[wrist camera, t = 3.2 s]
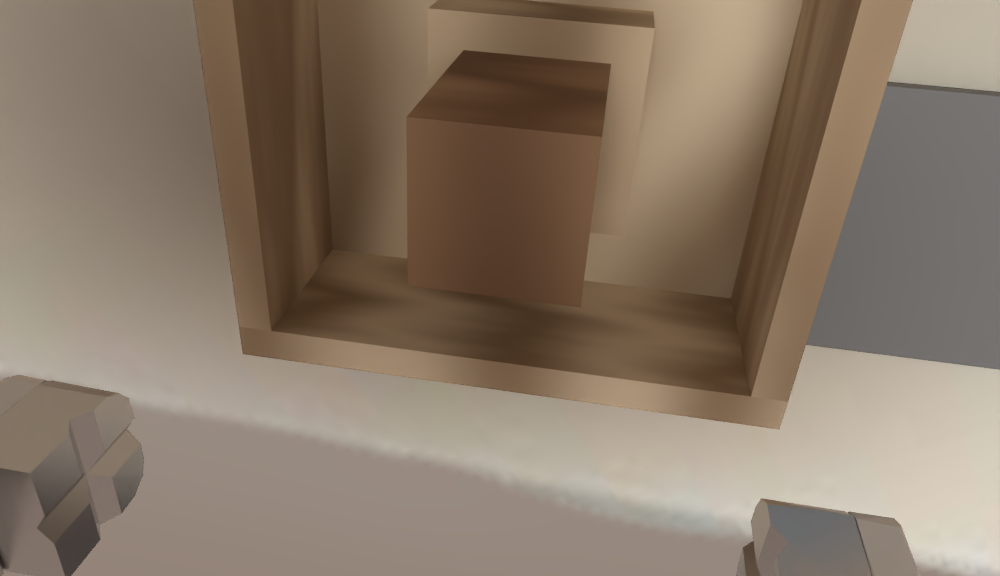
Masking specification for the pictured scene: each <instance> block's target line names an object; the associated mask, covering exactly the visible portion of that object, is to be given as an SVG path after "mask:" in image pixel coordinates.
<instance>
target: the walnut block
mask: <svg viewBox="0 0 1000 576" xmlns="http://www.w3.org/2000/svg"><path fill="white" fill-rule="evenodd" d="M610 69H611V64H608V63H597V62H586V61H576V60H565V59H554V58H544V57H533V56H522V55H512V54H501V53H490V52H480V51H469V50H463V51H462V52H461V54H460V55H459V56H458V57H457V58H456V59H455V61H454V62H453V63H452V64H451V65H450V66H449V68H448V69H447V70H446V71H445V72H444V74H443V75H442V76H441V77H440V78H439V79H438V81H437V82H436V83H435V84H434V85H433V86H432V88H431V89H430V90H429V91H428V92H427V93H426V95H425V96H424V97H423V98H422V99H421V100H420V102H419V103H418V104H417V105H416V106H415V107H414V109H413V110H412V111H411V112H410V113H409V114H408V116H407V117H406V119H407V254H408V286H416V287H424V288H432V289H439V290H447V291H455V292H463V293H471V294H479V295H486V296H494V297H502V298H510V299H518V300H526V301H533V302H541V303H549V304H557V305H565V306H573V307H581V300H582V292H583V284H584V276H585V268H586V260H587V252H588V244H589V237H590V229H591V221H592V213H593V205H594V197H595V189H596V182H597V174H598V166H599V158H600V150H601V142H602V134H603V126H604V118H605V110H606V102H607V93H608V85H609V77H610Z"/></svg>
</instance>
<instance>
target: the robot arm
mask: <svg viewBox="0 0 1000 576" xmlns="http://www.w3.org/2000/svg"><path fill="white" fill-rule="evenodd" d="M133 419H134V414H133V411H132V408H131V404H130V401H129V398H127V397H125V396H123V395H121V394H119V393H115V392H109V391H104V390H99V389H94V388H88V387H83V386H78V385H73V384H67V383H62V382H57V381H47V380H42V379H37V378H32V377H27V376H22V375H16V376H12V377H8V378H4V379H3V380H1V381H0V576H2V575H3V574H4V572H3V570H4V571H10V572H16V573H22V574H28V575H35V576H71V575H72V574H73V573H74V572H75V570H76V569H77V568H78V566H79V565H80V564H81V563H82V562H83V560H84V559H85V558H86V557H87V556H88V554H89V553H90V552H91V551H92V549H93V548H94V547H95V546H96V544H97V543H98V542H99V541H100V524H102V523H104V522H106V521H108V520H110V519H112V518H113V517H115V516H117V515H119V514H121V513H122V512H123V511H124V509H125V508H126V507H127V506H128V504H129V503H130V502H131V500H132V499H133V498H134V496H135V494H136V491H137V489H138V486H139V484H140V481H141V479H142V476H143V464H144V457H143V452H142V447H141V444H140V443H139V442H138V440H137V439H136V438H135V437H134V436H133V435H132V434H131V433H130V432H129V431H128V430H127V428H128V427H129V425H130V424H131V422H132V421H133ZM751 526H752V533H753V542H751V543H749V544H748V545H746V546H745V547H743V549H742V553H741V556H740V560H739V563H738V567H737V575H736V576H920V575H919V572H918V569H917V567H916V564H915V561H914V559H913V556H912V553H911V551H910V548H909V545H908V543H907V540H906V537H905V535H904V532H903V529H902V527H901V525H900V524H899V523H898V522H897V521H896V520H895V519H894V518H888V517H881V516H875V515H868V514H861V513H855V512H848V513H847V512H844V511H838V510H832V509H826V508H819V507H813V506H806V505H800V504H794V503H787V502H781V501H774V500H768V499H762V498H761V499H760V501H759V502H758V504H757V505H756V508H755V511H754V514H753V517H752V520H751Z"/></svg>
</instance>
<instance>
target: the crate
mask: <svg viewBox="0 0 1000 576" xmlns="http://www.w3.org/2000/svg"><path fill="white" fill-rule="evenodd" d="M912 2H913V0H193V4H194V11H195V18H196V25H197V32H198V39H199V46H200V53H201V60H202V68H203V75H204V82H205V89H206V96H207V103H208V110H209V117H210V124H211V131H212V138H213V146H214V153H215V160H216V167H217V174H218V181H219V188H220V195H221V202H222V209H223V216H224V224H225V231H226V238H227V245H228V252H229V259H230V266H231V273H232V280H233V287H234V295H235V302H236V309H237V316H238V323H239V330H240V337H241V344H242V351H243V354H247V355H254V356H261V357H268V358H275V359H282V360H290V361H297V362H304V363H311V364H318V365H325V366H332V367H339V368H346V369H354V370H361V371H368V372H375V373H382V374H389V375H396V376H403V377H410V378H418V379H425V380H432V381H439V382H446V383H453V384H460V385H467V386H474V387H482V388H489V389H496V390H503V391H510V392H517V393H524V394H531V395H539V396H546V397H553V398H560V399H567V400H574V401H581V402H588V403H595V404H603V405H610V406H617V407H624V408H631V409H638V410H645V411H652V412H659V413H667V414H674V415H681V416H688V417H695V418H702V419H709V420H716V421H723V422H731V423H738V424H745V425H752V426H759V427H766V428H773V429H780V425H781V422H782V419H783V416H784V413H785V409H786V406H787V403H788V400H789V396H790V393H791V390H792V387H793V384H794V380H795V377H796V374H797V371H798V368H799V364H800V361H801V358H802V355H803V352H804V348H805V345H806V342H807V339H808V335H809V332H810V329H811V326H812V323H813V319H814V316H815V313H816V310H817V307H818V303H819V300H820V297H821V294H822V290H823V287H824V284H825V281H826V278H827V274H828V271H829V268H830V265H831V262H832V258H833V255H834V252H835V249H836V246H837V242H838V239H839V236H840V233H841V229H842V226H843V223H844V220H845V217H846V213H847V210H848V207H849V204H850V201H851V197H852V194H853V191H854V188H855V185H856V181H857V178H858V175H859V172H860V168H861V165H862V162H863V159H864V156H865V152H866V149H867V146H868V143H869V140H870V136H871V133H872V130H873V127H874V124H875V120H876V117H877V114H878V111H879V107H880V104H881V101H882V98H883V95H884V91H885V88H886V85H887V82H888V79H889V75H890V72H891V69H892V66H893V63H894V59H895V56H896V53H897V50H898V46H899V43H900V40H901V37H902V34H903V30H904V27H905V24H906V21H907V18H908V14H909V11H910V8H911V5H912ZM463 50H469V51H480V52H490V53H501V54H512V55H522V56H533V57H544V58H554V59H565V60H576V61H586V62H597V63H608V64H611V69H610V77H609V85H608V93H607V102H606V110H605V118H604V126H603V134H602V142H601V150H600V158H599V166H598V174H597V182H596V189H595V197H594V205H593V213H592V221H591V229H590V237H589V244H588V252H587V260H586V268H585V276H584V284H583V292H582V300H581V307H573V306H565V305H557V304H549V303H541V302H533V301H526V300H518V299H510V298H502V297H494V296H486V295H479V294H471V293H463V292H455V291H447V290H439V289H432V288H424V287H416V286H408V254H407V119H406V117H407V116H408V114H409V113H410V112H411V111H412V110H413V109H414V107H415V106H416V105H417V104H418V103H419V102H420V100H421V99H422V98H423V97H424V96H425V95H426V93H427V92H428V91H429V90H430V89H431V88H432V86H433V85H434V84H435V83H436V82H437V81H438V79H439V78H440V77H441V76H442V75H443V74H444V72H445V71H446V70H447V69H448V68H449V66H450V65H451V64H452V63H453V62H454V61H455V59H456V58H457V57H458V56H459V55H460V54H461V52H462V51H463Z"/></svg>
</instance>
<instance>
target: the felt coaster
mask: <svg viewBox="0 0 1000 576" xmlns="http://www.w3.org/2000/svg"><path fill="white" fill-rule="evenodd" d="M806 345H813V346H821V347H828V348H836V349H844V350H852V351H859V352H867V353H875V354H883V355H890V356H898V357H906V358H914V359H922V360H929V361H937V362H945V363H953V364H960V365H968V366H976V367H984V368H991V369H999V370H1000V92H991V91H981V90H970V89H959V88H948V87H937V86H927V85H916V84H905V83H894V82H887V85H886V88H885V91H884V95H883V98H882V101H881V104H880V107H879V111H878V114H877V117H876V120H875V124H874V127H873V130H872V133H871V136H870V140H869V143H868V146H867V149H866V152H865V156H864V159H863V162H862V165H861V168H860V172H859V175H858V178H857V181H856V185H855V188H854V191H853V194H852V197H851V201H850V204H849V207H848V210H847V213H846V217H845V220H844V223H843V226H842V229H841V233H840V236H839V239H838V242H837V246H836V249H835V252H834V255H833V258H832V262H831V265H830V268H829V271H828V274H827V278H826V281H825V284H824V287H823V290H822V294H821V297H820V300H819V303H818V307H817V310H816V313H815V316H814V319H813V323H812V326H811V329H810V332H809V335H808V339H807V342H806Z"/></svg>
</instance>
